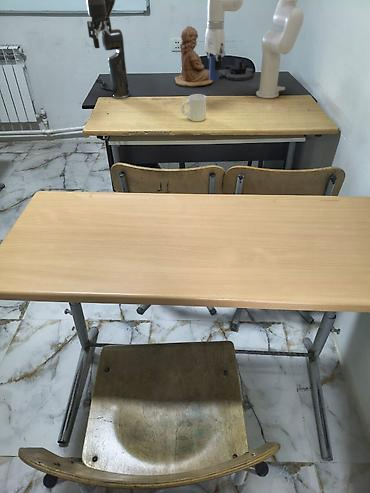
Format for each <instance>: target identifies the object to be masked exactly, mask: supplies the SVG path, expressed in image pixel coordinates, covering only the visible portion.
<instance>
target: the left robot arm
mask: <svg viewBox="0 0 370 493" xmlns="http://www.w3.org/2000/svg"><path fill="white" fill-rule="evenodd" d="M115 2H116V0H86V6H87V12H88V16H89V17H90V18H91V20H90V21H89V20H88V21H87V22H86V25H87V31H88V37H89V38H91V39H92V42H93V47H94V49H100V47H101V46H100V40H99V35H100V34H101V35H100V36H101V43H102V47H103V49H104V50H105V51H116V52H115V53H114V54H112V55H110V56H109V57H108V58H107V64H108V70H109V75H110V83H111V88H106V87H105V84H106V83H105V81H104V80H102V79H101V78H96V80H95V82H101V85H100V87H101V89H103V90H105V91H111V92H112V97H113V98H114V99H125V98H128V97H130V90H129V89H130V87H129V82H128V81H129V79H128V74H127V66H126V65H127V64H126V55H125V43H124V41H125V40H124V36H123V32H122V30H121V29H119V28H116V29H112V24H111V13H112V12H113V9H114V7H115Z"/></svg>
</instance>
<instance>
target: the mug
mask: <svg viewBox="0 0 370 493" xmlns="http://www.w3.org/2000/svg"><path fill="white" fill-rule="evenodd" d="M186 105H188V112H186V111H185V106H186ZM180 109H181V113H182V115H184V116H186V117H188V118H189V120H190V121H193V122H201V121H204V120H205V119H207V118H206V117H207V96H206V95H205V94H202V93H195V94H190V95H188V99H186V100H185V101H183V103H182V104H181V107H180Z"/></svg>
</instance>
